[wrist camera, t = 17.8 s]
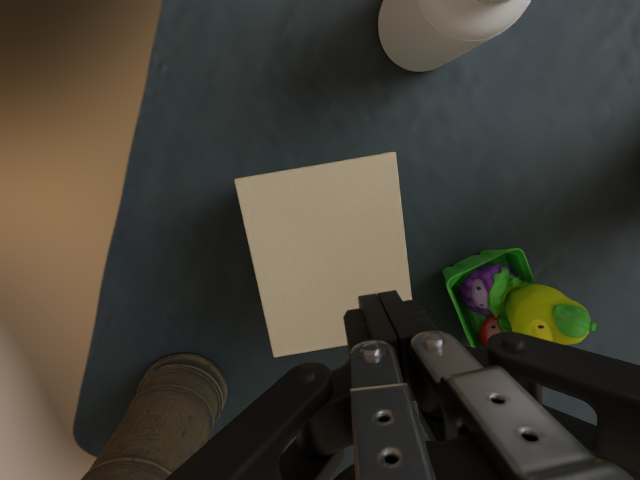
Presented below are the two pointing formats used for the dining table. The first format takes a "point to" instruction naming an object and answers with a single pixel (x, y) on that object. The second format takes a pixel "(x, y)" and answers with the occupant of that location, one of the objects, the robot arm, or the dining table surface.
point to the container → (164, 420)
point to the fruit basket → (511, 300)
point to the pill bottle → (441, 28)
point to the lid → (323, 245)
